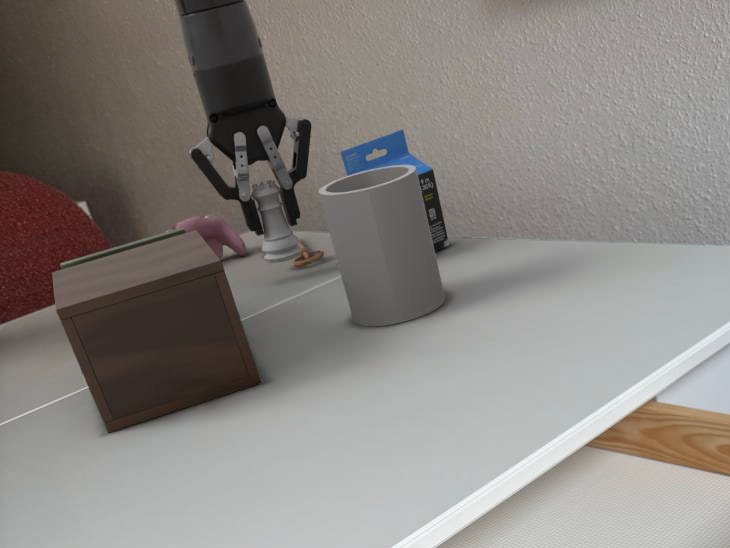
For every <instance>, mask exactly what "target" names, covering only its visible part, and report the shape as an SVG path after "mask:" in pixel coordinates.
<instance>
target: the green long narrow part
mask: <svg viewBox="0 0 730 548" xmlns="http://www.w3.org/2000/svg"><path fill="white" fill-rule="evenodd" d="M165 232H166V231H165ZM165 232H163V233H158V234H156V235H152V236H148V237H146V238H141V239H139V240H135V241H132V242H129V243H126V244H122V245H118V246H114V247H111V248H108V249H103V250H101V251H98V252H97V251H96V252H93V253H90V254H87V255H84V256H81V257H77V258H74V259H71V260H67V261H63V262H60V268H61V270H62V269H66V268H69V267H72V266H76V265H79V264H83V263H86V262H89V261H93V260H96V259H100V258H103V257H106V256H110V255H113V254H117V253H120V252H123V251H127V250H130V249H134V248H137V247H140V246H144V245H147V244H150V243H154V242H157V241H161V240H164V239H167V238H171V237H174V236H178V235H181V234H184V233H186V232H185V230H184V228H179V229H176V230H172V231H169V232H166V233H165Z"/></svg>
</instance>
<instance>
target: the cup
mask: <svg viewBox="0 0 730 548" xmlns="http://www.w3.org/2000/svg"><path fill="white" fill-rule="evenodd" d="M318 196H319V199H320V203H321V207H322V210H323V214H324V217H325V221H326V225H327V230H328V232H329V236H330V239H331V243H332V248H333V250H334V254H335V258H336V261H337V265H338V269H339V273H340V277H341V280H342V284H343V287H344V290H345V295H346V298H347V302H348V305H349V309H350V313H351V317H352V320H353V322H354V323H355V325H358V326H362V327H384V326H390V325H391V326H392V325H395V324H401V323H405V322H408V321H412V320H414V319H418V318H420V317H423V316H425V315H428V314H430V313H432V312H433V311H435V310H437V309H438V308H440V307H441V306H442V305H443V304H444V302H445V301H446V294H445V291H444V286H443V282H442V277H441V272H440V269H439V264H438V259H437V255H436V251H435V250H434V246H433V241H432V237H431V232H430V228H429V223H428V219H427V214H426V210H425V205H424V201H423V197H422V192H421V188H420V183H419V179H418V174H417V170H416V167H415V166H413V165H395V166H387V167H381V168H376V169H371V170H367V171H363V172H359V173H355V174H352V175H349V176H347V175H346V176H343V177H340V178H338V179H335V180H332V181H331V182H328V183H326V184H325V185H323V186H322V187H320V188H319V189H318Z"/></svg>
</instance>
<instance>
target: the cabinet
mask: <svg viewBox="0 0 730 548" xmlns="http://www.w3.org/2000/svg"><path fill="white" fill-rule="evenodd" d="M51 275H52V284H53V296H54V306H55V312H56V315H57V316H58V319H59V320H60V324H61V327H62V328H63V331H64V333H65V336H66V338H67V340H68V342H69V345H70V347H71V349H72V352H73V354H74V356H75V360H76V361H77V364H78V366H79V368H80V371H81V373H82V376H83V378H84V380H85V383H86V385H87V387H88V389H89V392H90V394H91V396H92V399H93V401H94V404H95V406H96V408H97V410H98V413H99V415H100V418H101V420H102V423H103V426H104V427H105V430H106V432H107V434H110V433H112V432H115V431H119V430H121V429H125V428H128V427H131V426H135V425H137V424H140V423H144V422H147V421H149V420H152V419H156V418H159V417H161V416H164V415H168V414H171V413H174V412H177V411H180V410H183V409H186V408H189V407H192V406H195V405H199V404H202V403H205V402H208V401H211V400H214V399H217V398H220V397H224V396H226V395H230V394H232V393H235V392H238V391H242V390H245V389H247V388H251V387H255V386H258V385H260V384H262V383H263V382H262V380H261V376H260V373H259V371H258V366H257V363H256V361H255V357H254V355H253V353H252V349H251V346H250V343H249V339H248V337H247V334H246V330H245V329H244V325H243V322H242V319H241V316H240V313H239V309H238V307H237V304H236V301H235V297H234V295H233V291H232V289H231V286H230V282H229V279H228V276H227V274H226V271H225V267H224V265H223V262H222V259H219V257H218V256H217V255H216V254H215V252H214V251H213V250H212V249H211V247H210V246H209V245H208V244H207V242H206V241H205V240H204V239H203V238H202V236H201V235H200V234H199V233H198V231H197V230H195V231H191V232H188V233H184V234H181V235H178V236H174V237H171V238H167V239H164V240H161V241H157V242H154V243H150V244H147V245H144V246H140V247H137V248H134V249H130V250H127V251H123V252H120V253H117V254H113V255H110V256H106V257H103V258H100V259H96V260H93V261H89V262H86V263H83V264H79V265H76V266H72V267H69V268H66V269H62V268H61V269H59V270H55V271H52V272H51Z"/></svg>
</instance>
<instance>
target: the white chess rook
mask: <svg viewBox="0 0 730 548" xmlns="http://www.w3.org/2000/svg"><path fill="white" fill-rule="evenodd" d="M275 180H276V179H275ZM275 180H274V179H267V180H266V181H265V184H264V181H262V180H261V181H258V183H254V184H252V185H251V189H252V192H251V194H250V195H251V198H252V199H253V200H254V201H256V203H257V211H258V213H259V215H260V219H261V224H262V228H263V232H264V234H263V237H262V241H263V243H262V244H261V251H263V252H264V253H266V254H264V257H263V259H264V260H265V261H266V262H267V263H270V264H277V263H278V264H279V263H282V262H286V261H290V260H293V259H297V258H298V257H300V256H301V255H300V254H301V251H302V248H301V247H300V246H298V243H299V241H300V242H301V240H300V239H299V237H298V236H297V235H295V233H294V231H293V230H292V229H291V227H290V225H289V224H288V222H287V218H286V216H285V213H284V210H283V204H282V201H281V200H280V199H279V198H280V197H279V196H280V193H279V192H280V186H278V185H276V182H275Z"/></svg>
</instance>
